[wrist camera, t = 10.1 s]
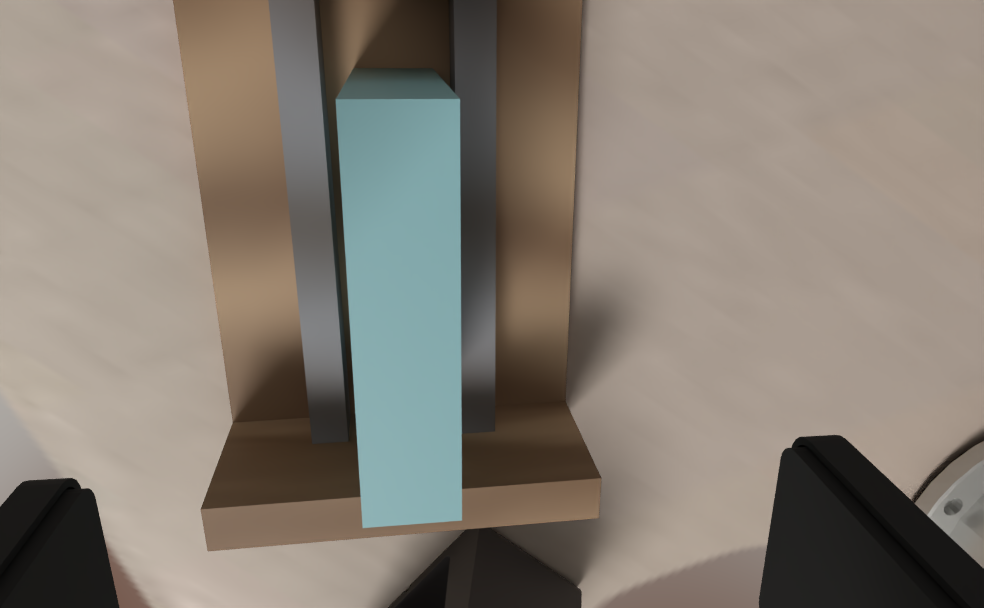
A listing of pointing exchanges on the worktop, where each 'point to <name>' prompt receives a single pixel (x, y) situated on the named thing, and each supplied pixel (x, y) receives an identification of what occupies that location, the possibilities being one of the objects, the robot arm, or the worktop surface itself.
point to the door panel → (404, 290)
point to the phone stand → (488, 578)
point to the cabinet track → (322, 262)
